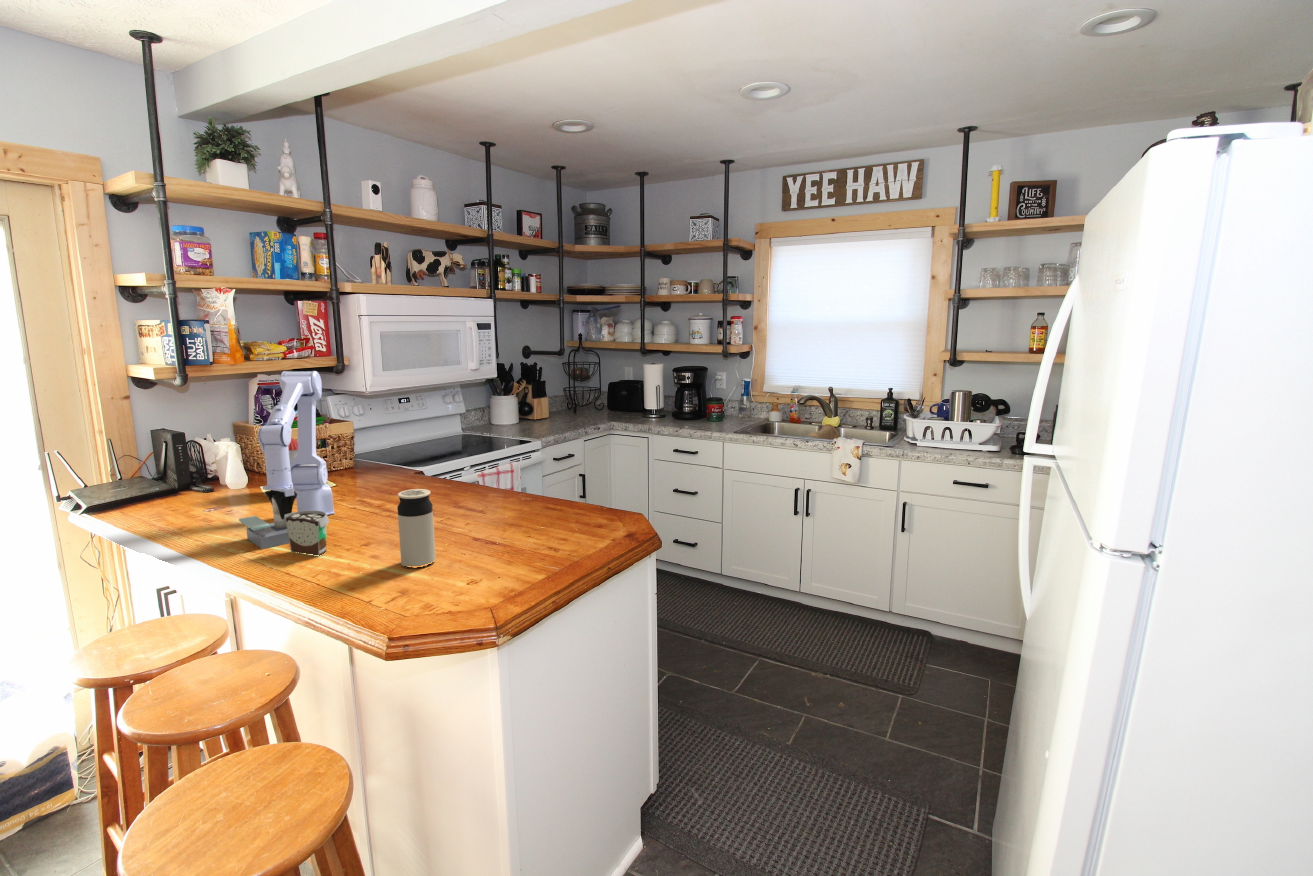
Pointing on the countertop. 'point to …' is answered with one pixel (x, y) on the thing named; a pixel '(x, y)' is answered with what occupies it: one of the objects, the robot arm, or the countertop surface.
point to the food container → (307, 531)
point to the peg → (277, 516)
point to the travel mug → (416, 527)
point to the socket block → (264, 532)
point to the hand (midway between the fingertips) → (283, 516)
